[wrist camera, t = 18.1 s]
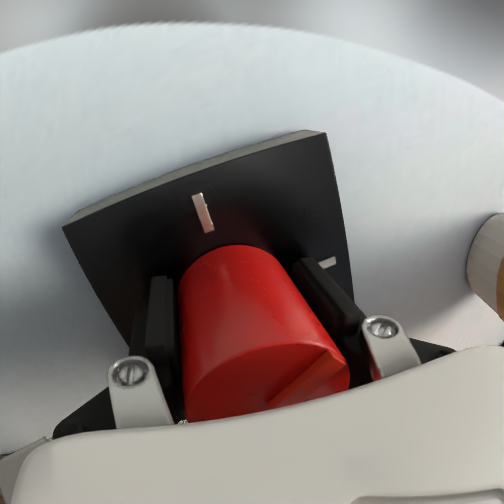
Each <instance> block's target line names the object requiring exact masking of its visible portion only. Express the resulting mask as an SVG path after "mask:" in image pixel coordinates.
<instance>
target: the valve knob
mask: <svg viewBox="0 0 504 504" xmlns="http://www.w3.org/2000/svg"><path fill="white" fill-rule="evenodd" d="M177 306H178V330H179V348H180V363H181V377H182V389H183V400H184V411H185V416H186V420H187V422H188V423H194V422H202V421H209V420H216V419H223V418H229V417H235V416H241V415H246V414H251V413H257V412H262V411H267V410H272V409H276V408H281V407H285V406H290V405H294V404H298V403H302V402H306V401H310V400H314V399H318V398H322V397H325V396H329V395H333V394H336V393H339V392H343V391H346V390H348V387H349V382H350V371H349V367H348V364H347V362H346V360H345V358H344V357H343V355H342V354H341V352H340V351H339V349H338V348H337V346H336V345H335V343H334V342H333V340H332V339H331V337H330V336H329V334H328V333H327V331H326V330H325V328H324V327H323V325H322V324H321V322H320V321H319V319H318V318H317V317H316V315H315V314H314V312H313V311H312V309H311V308H310V306H309V305H308V303H307V302H306V300H305V299H304V297H303V296H302V294H301V293H300V291H299V290H298V289H297V287H296V286H295V284H294V283H293V281H292V280H291V278H290V277H289V275H288V274H287V272H286V271H285V270H284V268H283V267H282V265H281V264H280V263H279V261H278V260H277V259H276V258H274V257H273V256H272V255H271V254H269V253H268V252H266V251H264V250H262V249H259V248H256V247H252V246H247V245H230V246H224V247H221V248H217V249H214V250H212V251H210V252H208V253H206V254H204V255H203V256H201V257H200V258H199V259H197V260H196V261H195V262H194V263H193V264H192V265H191V266H190V267H189V268H188V269H187V271H186V272H185V274H184V276H183V277H182V279H181V282H180V284H179V288H178V294H177Z"/></svg>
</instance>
